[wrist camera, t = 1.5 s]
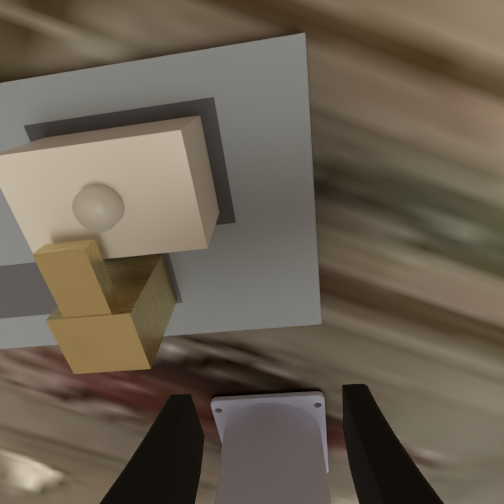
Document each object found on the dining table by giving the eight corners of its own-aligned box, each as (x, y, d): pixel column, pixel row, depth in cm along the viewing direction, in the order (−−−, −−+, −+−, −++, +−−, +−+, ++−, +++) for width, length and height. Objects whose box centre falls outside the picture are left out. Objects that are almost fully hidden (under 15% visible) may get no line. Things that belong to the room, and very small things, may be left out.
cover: (219, 212, 17) (205, 256, 13) (81, 228, 17) (30, 273, 14) (200, 115, 14) (176, 133, 11) (44, 137, 15) (-28, 161, 12)
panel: (318, 307, 21) (321, 324, 19) (12, 332, 23) (-4, 349, 22) (301, 35, 14) (305, 32, 13) (-126, 105, 16) (-161, 109, 15)
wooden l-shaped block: (177, 301, 19) (150, 368, 15) (116, 306, 19) (74, 373, 15) (147, 199, 16) (104, 247, 12) (76, 208, 17) (11, 257, 12)
